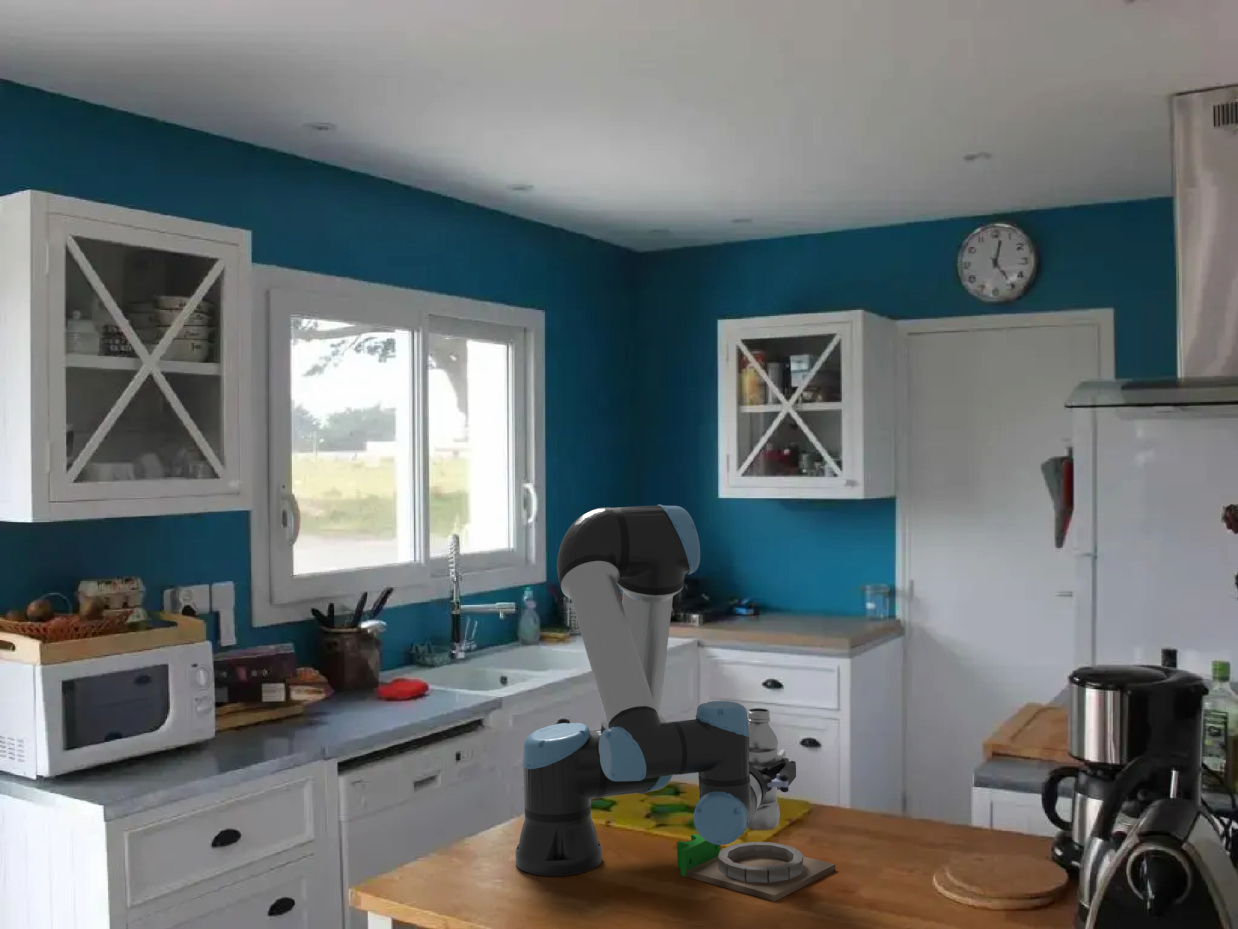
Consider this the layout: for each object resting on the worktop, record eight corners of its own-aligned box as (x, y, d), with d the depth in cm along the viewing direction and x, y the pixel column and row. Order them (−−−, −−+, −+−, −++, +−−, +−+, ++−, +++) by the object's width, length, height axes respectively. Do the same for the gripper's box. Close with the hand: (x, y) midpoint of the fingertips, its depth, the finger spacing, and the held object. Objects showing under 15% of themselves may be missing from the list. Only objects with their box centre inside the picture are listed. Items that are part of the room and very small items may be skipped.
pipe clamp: (702, 855, 214) (702, 829, 214) (721, 859, 212) (720, 833, 212) (667, 873, 205) (667, 846, 205) (686, 877, 203) (685, 850, 203)
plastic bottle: (786, 826, 204) (784, 708, 204) (770, 837, 199) (768, 716, 198) (751, 821, 208) (749, 704, 208) (734, 831, 202) (732, 712, 202)
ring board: (685, 876, 203) (685, 858, 203) (748, 848, 216) (748, 831, 216) (774, 901, 191) (774, 882, 191) (835, 870, 204) (835, 852, 204)
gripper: (679, 813, 189) (711, 775, 211) (800, 821, 183) (819, 781, 205) (678, 765, 189) (710, 732, 211) (798, 771, 183) (818, 736, 205)
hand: (764, 756), depth 208 cm, fingers closed on plastic bottle, 6 cm apart
